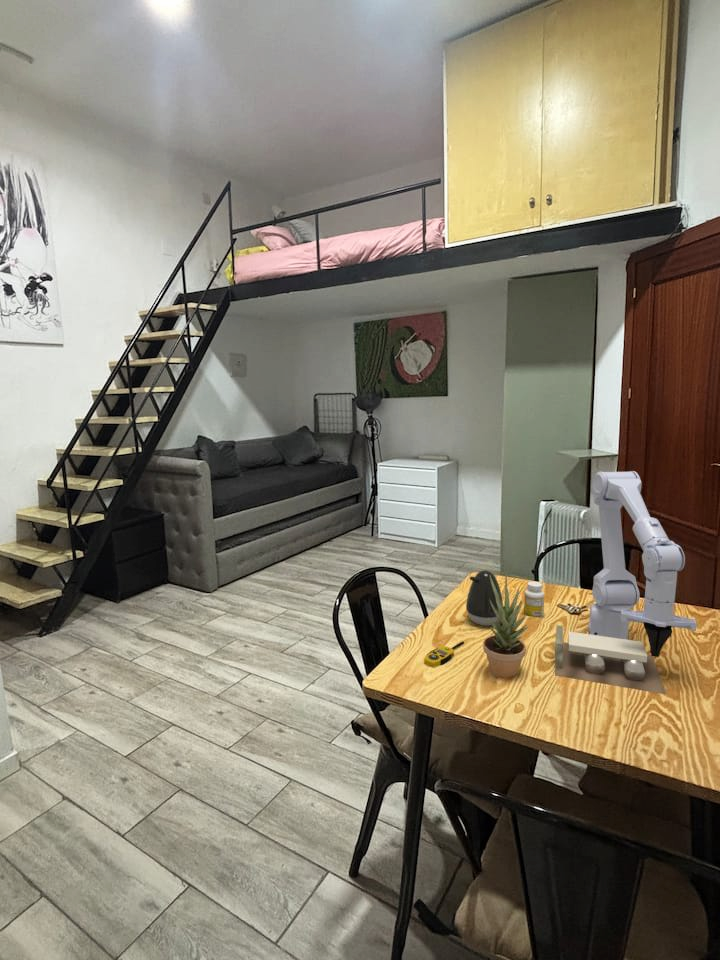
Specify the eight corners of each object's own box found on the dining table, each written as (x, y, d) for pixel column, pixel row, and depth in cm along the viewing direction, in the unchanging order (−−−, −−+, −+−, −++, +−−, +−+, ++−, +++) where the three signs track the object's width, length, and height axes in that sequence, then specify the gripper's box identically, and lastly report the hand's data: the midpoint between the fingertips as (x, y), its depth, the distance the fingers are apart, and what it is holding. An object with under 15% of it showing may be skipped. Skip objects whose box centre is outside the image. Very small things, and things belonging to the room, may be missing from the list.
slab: (568, 650, 119) (569, 644, 119) (568, 637, 125) (568, 631, 125) (646, 662, 113) (647, 656, 113) (641, 647, 120) (642, 641, 119)
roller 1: (594, 677, 116) (581, 664, 117) (591, 656, 125) (579, 643, 126) (608, 667, 115) (595, 654, 115) (605, 647, 124) (592, 634, 125)
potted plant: (474, 668, 121) (476, 568, 117) (506, 659, 125) (509, 562, 121) (501, 690, 112) (505, 583, 108) (535, 680, 116) (540, 576, 112)
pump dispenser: (458, 618, 148) (458, 568, 145) (486, 611, 152) (487, 562, 150) (481, 633, 139) (482, 579, 136) (510, 625, 143) (512, 573, 141)
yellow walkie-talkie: (420, 656, 124) (455, 634, 134) (420, 663, 124) (455, 641, 135) (436, 663, 121) (471, 640, 131) (436, 670, 121) (471, 647, 131)
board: (554, 679, 116) (556, 650, 115) (555, 644, 132) (556, 619, 131) (665, 698, 108) (668, 667, 107) (652, 659, 124) (654, 632, 123)
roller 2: (634, 684, 113) (620, 670, 114) (628, 662, 123) (615, 649, 123) (649, 674, 112) (635, 660, 112) (642, 652, 121) (629, 639, 122)
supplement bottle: (529, 609, 153) (530, 578, 151) (546, 615, 149) (548, 583, 147) (520, 615, 149) (521, 583, 147) (537, 621, 145) (539, 588, 144)
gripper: (625, 600, 112) (620, 657, 115) (702, 609, 107) (696, 669, 109) (621, 588, 119) (617, 643, 121) (694, 596, 114) (688, 653, 116)
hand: (654, 654), depth 116 cm, fingers closed
